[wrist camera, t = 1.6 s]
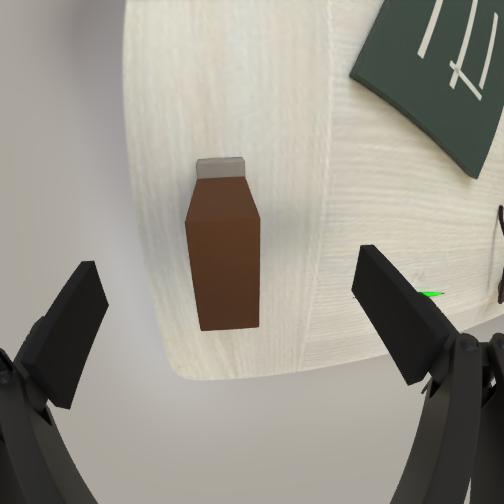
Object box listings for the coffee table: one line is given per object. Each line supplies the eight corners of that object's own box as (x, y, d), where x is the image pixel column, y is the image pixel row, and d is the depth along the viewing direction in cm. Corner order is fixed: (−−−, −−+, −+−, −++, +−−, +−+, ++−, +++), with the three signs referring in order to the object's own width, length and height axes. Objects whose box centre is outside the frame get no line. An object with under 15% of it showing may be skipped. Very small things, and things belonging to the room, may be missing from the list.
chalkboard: (419, -79, 5) (425, -82, 4) (512, 15, 10) (518, 15, 8) (348, 75, 16) (356, 74, 15) (469, 176, 20) (477, 180, 19)
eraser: (197, 159, 18) (182, 197, 10) (242, 156, 18) (260, 193, 11) (206, 262, 22) (203, 344, 14) (244, 260, 22) (259, 340, 14)
